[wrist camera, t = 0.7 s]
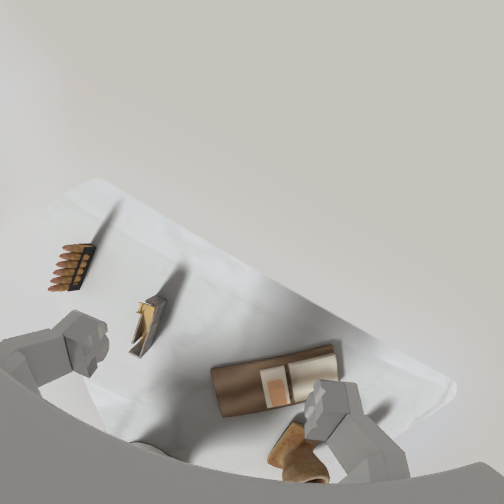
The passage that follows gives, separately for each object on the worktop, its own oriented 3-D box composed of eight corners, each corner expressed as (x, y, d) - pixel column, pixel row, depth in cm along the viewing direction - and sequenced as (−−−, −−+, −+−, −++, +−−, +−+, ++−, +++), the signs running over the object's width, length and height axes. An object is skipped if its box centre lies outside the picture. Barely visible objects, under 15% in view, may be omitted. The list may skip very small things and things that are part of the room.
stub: (289, 400, 55) (293, 412, 50) (266, 405, 55) (269, 417, 50) (283, 365, 55) (287, 375, 50) (259, 370, 55) (261, 380, 50)
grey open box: (154, 293, 56) (139, 300, 47) (167, 299, 56) (155, 308, 47) (138, 340, 56) (122, 355, 46) (151, 346, 56) (136, 362, 46)
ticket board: (335, 390, 58) (339, 395, 55) (223, 414, 56) (222, 421, 53) (330, 344, 58) (334, 348, 55) (210, 368, 56) (209, 374, 53)
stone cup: (300, 469, 57) (312, 506, 42) (260, 459, 56) (266, 499, 42) (332, 429, 58) (352, 464, 43) (291, 417, 57) (304, 455, 42)
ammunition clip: (90, 243, 55) (61, 240, 43) (96, 247, 55) (67, 245, 43) (73, 285, 55) (43, 291, 43) (79, 290, 55) (49, 296, 43)
